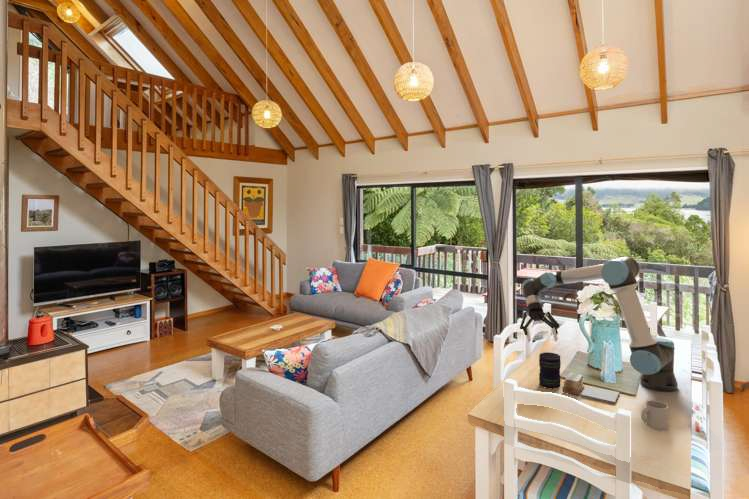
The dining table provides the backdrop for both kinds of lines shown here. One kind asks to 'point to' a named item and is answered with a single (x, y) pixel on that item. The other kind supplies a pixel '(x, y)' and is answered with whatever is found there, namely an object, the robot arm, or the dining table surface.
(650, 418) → the cup
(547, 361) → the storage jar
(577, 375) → the brown wooden block
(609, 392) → the slate board
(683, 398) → the dining table surface
